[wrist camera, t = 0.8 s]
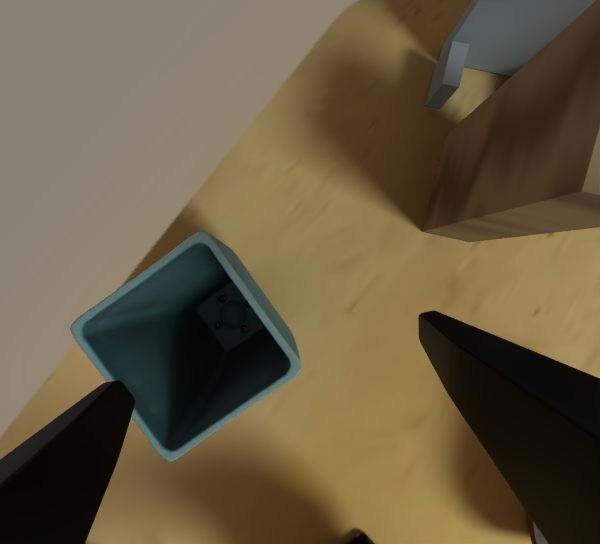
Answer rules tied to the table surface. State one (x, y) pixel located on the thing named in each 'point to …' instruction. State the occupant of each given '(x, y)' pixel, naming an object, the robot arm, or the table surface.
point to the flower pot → (189, 343)
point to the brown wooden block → (528, 148)
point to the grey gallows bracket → (499, 39)
